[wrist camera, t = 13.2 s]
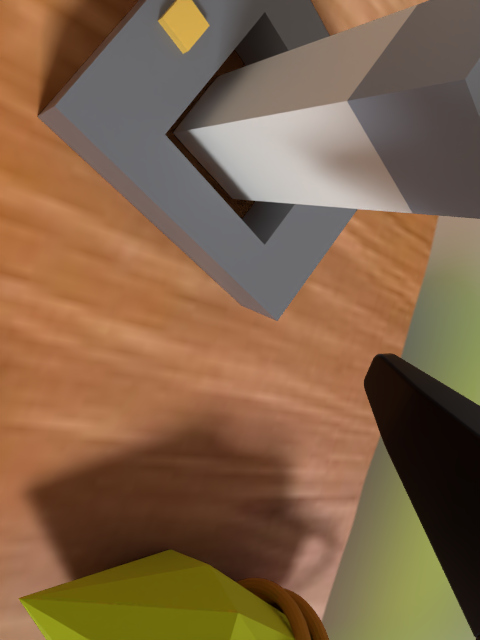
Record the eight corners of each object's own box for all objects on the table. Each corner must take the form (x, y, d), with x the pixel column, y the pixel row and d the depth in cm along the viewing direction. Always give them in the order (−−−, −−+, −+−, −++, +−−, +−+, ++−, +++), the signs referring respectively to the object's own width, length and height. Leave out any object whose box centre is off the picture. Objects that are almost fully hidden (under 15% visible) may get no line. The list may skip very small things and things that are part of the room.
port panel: (241, 305, 23) (282, 323, 20) (37, 116, 16) (57, 104, 13) (349, 158, 24) (401, 156, 22) (204, -76, 17) (254, -123, 15)
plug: (232, 198, 21) (519, 221, 11) (172, 132, 19) (465, 79, 8) (271, 147, 21) (584, 120, 11) (217, 76, 19) (549, -43, 9)
